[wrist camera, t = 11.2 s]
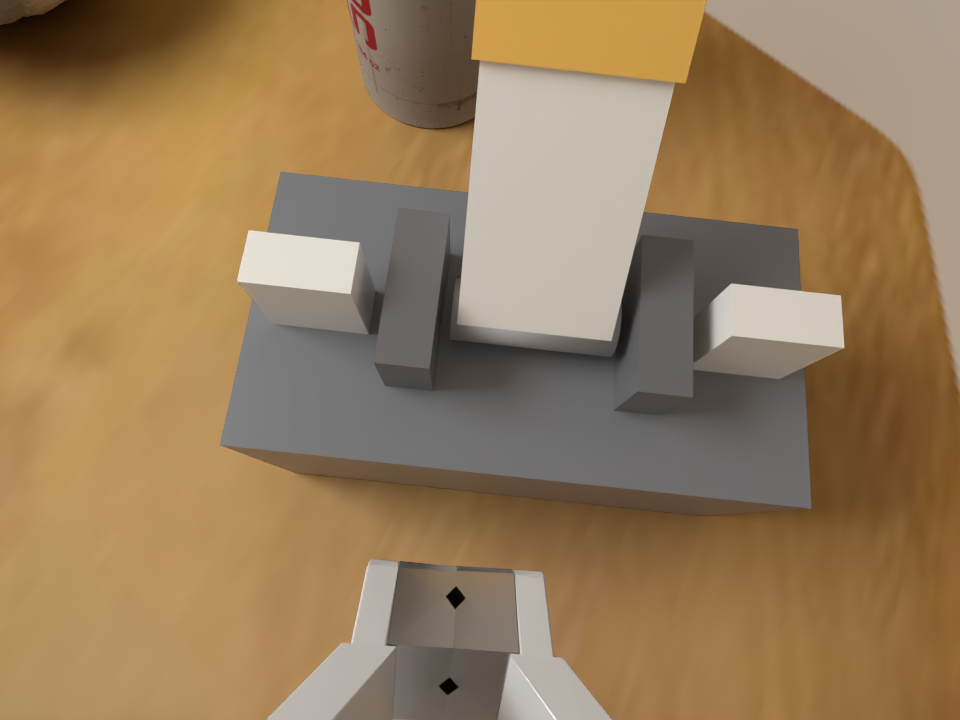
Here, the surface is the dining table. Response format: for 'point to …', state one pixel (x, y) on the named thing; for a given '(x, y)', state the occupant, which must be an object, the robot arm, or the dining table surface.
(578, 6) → the breaker lever
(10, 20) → the bowl
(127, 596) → the dining table surface
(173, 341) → the dining table surface
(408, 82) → the thermos bottle
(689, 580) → the dining table surface
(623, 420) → the breaker block
